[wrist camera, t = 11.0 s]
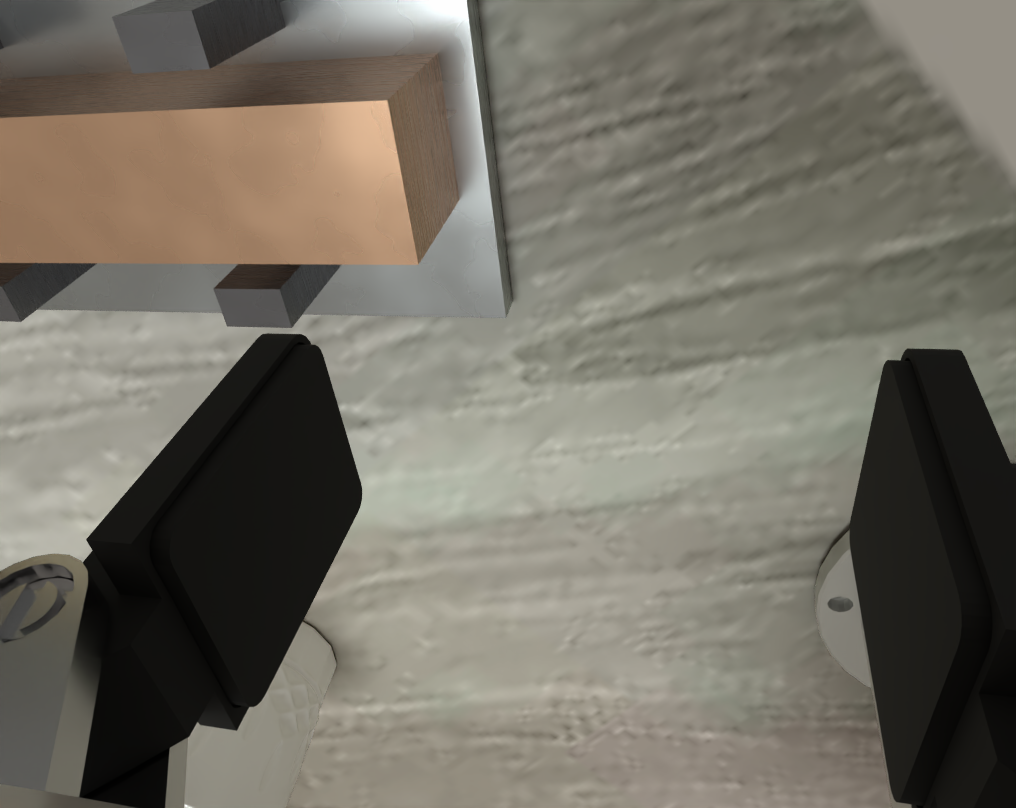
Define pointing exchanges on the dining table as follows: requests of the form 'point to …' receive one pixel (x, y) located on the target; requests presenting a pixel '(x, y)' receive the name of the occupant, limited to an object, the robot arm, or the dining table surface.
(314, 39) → the plate
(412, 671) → the dining table surface
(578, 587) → the dining table surface
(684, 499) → the dining table surface
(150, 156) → the wooden beam
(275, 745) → the white cup
